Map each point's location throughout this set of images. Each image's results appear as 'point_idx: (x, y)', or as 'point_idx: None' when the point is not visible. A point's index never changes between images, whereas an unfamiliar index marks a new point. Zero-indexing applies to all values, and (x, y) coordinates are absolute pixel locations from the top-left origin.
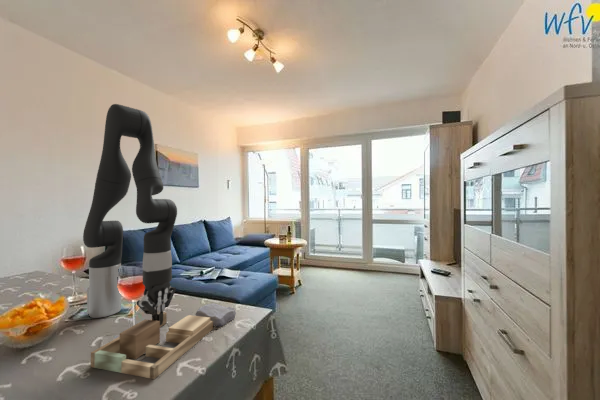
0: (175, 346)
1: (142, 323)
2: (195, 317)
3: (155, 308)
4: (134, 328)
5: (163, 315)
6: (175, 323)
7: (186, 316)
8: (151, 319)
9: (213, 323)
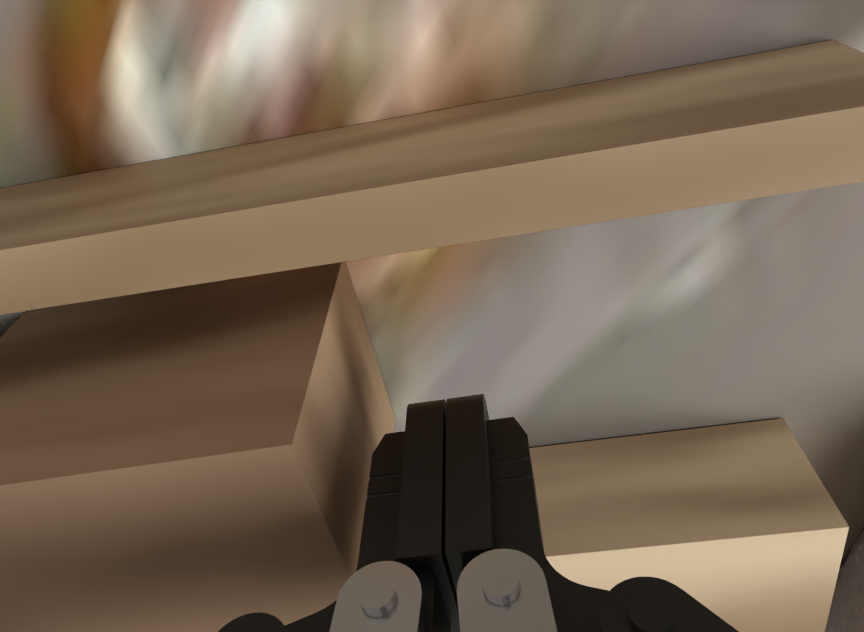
0: None
1: (189, 520)
2: (785, 619)
3: (463, 622)
4: (43, 547)
5: (827, 177)
6: (580, 554)
7: (798, 536)
8: (579, 176)
9: (828, 616)
